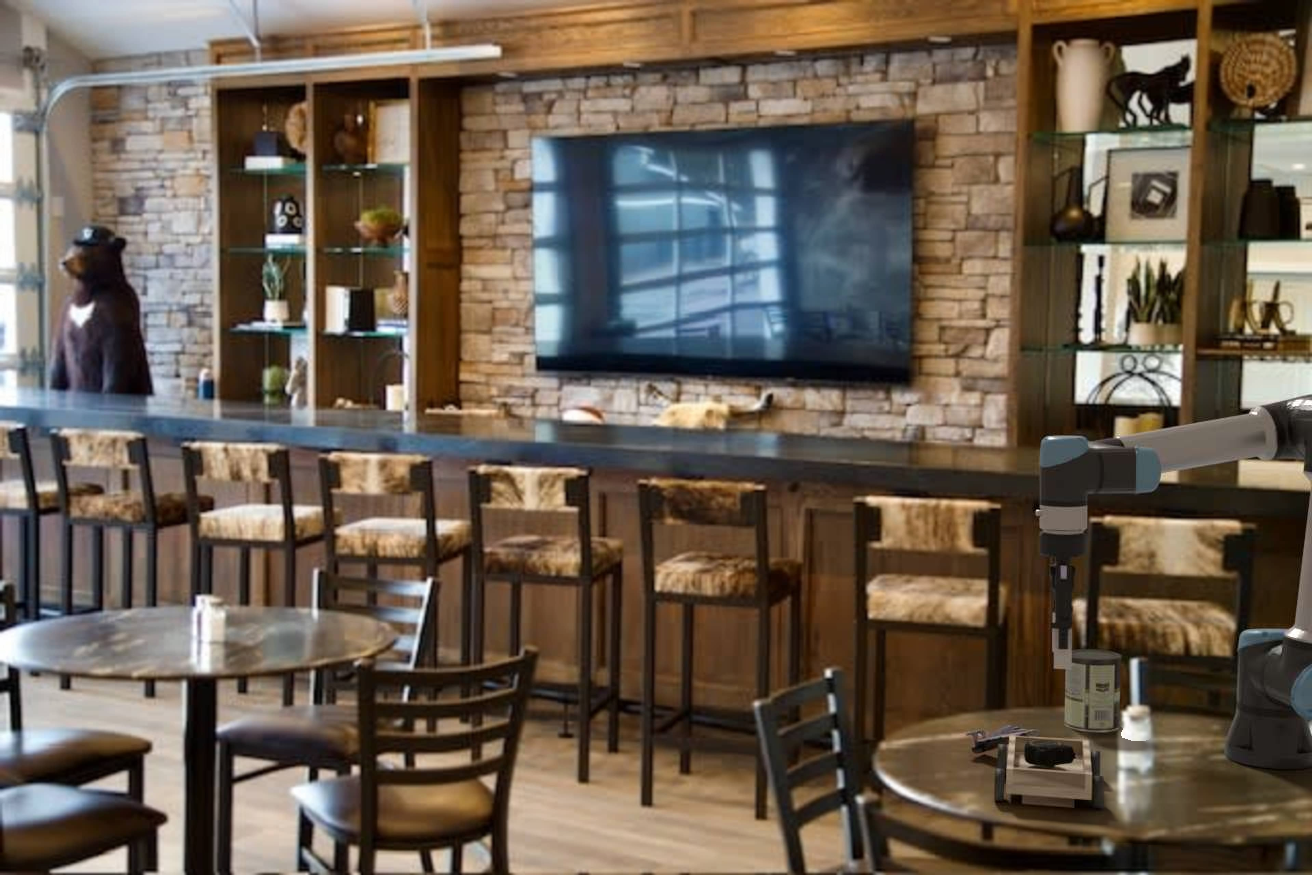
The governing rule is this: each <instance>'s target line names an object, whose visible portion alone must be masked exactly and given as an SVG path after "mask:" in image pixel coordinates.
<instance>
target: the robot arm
mask: <svg viewBox="0 0 1312 875" xmlns="http://www.w3.org/2000/svg"><path fill="white" fill-rule="evenodd" d="M1256 457H1257V458H1259V459H1260V460H1262V461H1265V462H1266V461H1267V462H1268V461H1273V460H1278V459H1279V460H1280V459H1282V460H1283V459H1289V460H1290V459H1291V460H1293V459H1294V460H1304V462H1303V463H1304V464H1303V472H1302V473H1303V474H1304V475H1305V477H1306V478H1307V479H1308V480H1309V482H1310V484H1311V487H1310V495H1309V503H1308V513H1307V520H1306V527H1305V535H1304V536H1305V538H1304V543H1303V544H1304V546H1303V554H1302V560H1301V561H1302V562H1301V570H1300V577H1299V587H1298V594H1297V595H1298V596H1297V601H1296V602H1297V603H1296V604H1297V605H1296V611H1295V621H1294V624H1293V626H1292V627H1290V628H1253V629H1246V630H1243V631H1242V632H1241V633H1240V635H1239V640H1238V644H1237V645H1238V646H1237V649H1236V650H1237V677H1236V678H1237V679H1236V680H1237V681H1236V682H1237V683H1236V708H1235V709H1236V710H1235V715H1234V717H1233V720H1232V723H1231V725H1230V728H1229V730H1228V732H1227V735H1226V737H1225V742H1224V751H1223V752H1224V756H1225V757H1226V758H1227V759H1228V760H1231V761H1233V762H1236V763H1240V764H1243V765H1247V766H1251V767H1257V768H1263V769H1272V770H1273V769H1274V770H1275V769H1276V770H1301V769H1307V768H1311V767H1312V731H1311V729H1310V725H1309V722H1308V721H1312V393H1311V394H1304V395H1300V396H1297V397H1292V398H1288V399H1284V400H1279V401H1275V402H1272V403H1267V404H1261V405H1259V406H1258V405H1257V406H1253V407H1252V408H1251V409H1250V411H1249V412H1248V413H1246V414H1240V415H1239V414H1238V415H1235V416H1234V415H1233V416H1229V417H1228V416H1227V417H1223V418H1217V419H1211V420H1205V421H1199V422H1195V423H1190V424H1184V425H1177V426H1171V427H1166V428H1160V429H1155V430H1154V429H1153V430H1149V431H1143V432H1138V433H1137V432H1136V433H1132V434H1125V435H1122V436H1121V435H1120V436H1116V437H1111V438H1109V437H1108V438H1105V439H1098V440H1097V439H1096V440H1093V441H1092V440H1089V439H1087V437H1085V436H1081V435H1049V436H1048V435H1047V436H1045V437H1044V438H1043V439H1042V440H1041V442H1040V448H1039V461H1038V467H1039V509H1036V510H1035V516H1037V517H1039V528H1040V529H1041V530H1042V531H1040V532H1039V534H1038V552H1039V554H1041V555H1043V556H1044V557H1052V561H1053V564H1049V576H1050V585H1051V591H1052V596H1053V597H1052V601H1051V604H1052V610H1053V612H1052V622H1050V629H1052V631H1051V632H1052V633H1051V634H1052V637H1051V640H1052V642H1051V644H1052V648H1051V650H1052V651H1051V652H1052V653H1053V669H1055V670H1057V669H1058V670H1066V669H1072V650H1073V649H1072V648H1073V645H1072V644H1073V643H1072V642H1073V641H1072V640H1073V625H1074V623H1073V622H1074V621H1073V618H1072V616H1073V614H1072V613H1073V612H1074V608H1073V607H1074V605H1072V602H1073V601H1072V600H1073V598H1072V596H1073V595H1072V593H1074V589H1075V581H1074V580H1075V579H1076V567H1075V565H1071V558H1080V557H1083V556H1085V555H1086V554H1087V548H1088V547H1087V539H1088V538H1087V536H1088V535H1087V533H1086V532H1084V531H1085V530H1086V529H1087V528H1088V494H1089V495H1096V494H1134V495H1138V494H1143V493H1152V492H1154V491H1155V490H1156V489H1157V488H1158V487H1159V484H1160V482H1161V479H1162V478H1161V477H1162V474H1164V473H1166V474H1167V473H1171V472H1176V471H1177V472H1178V471H1182V470H1187V469H1193V468H1198V467H1199V468H1200V467H1205V466H1206V467H1207V466H1211V465H1216V464H1223V463H1227V462H1233V461H1239V460H1245V459H1250V458H1256Z"/></svg>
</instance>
